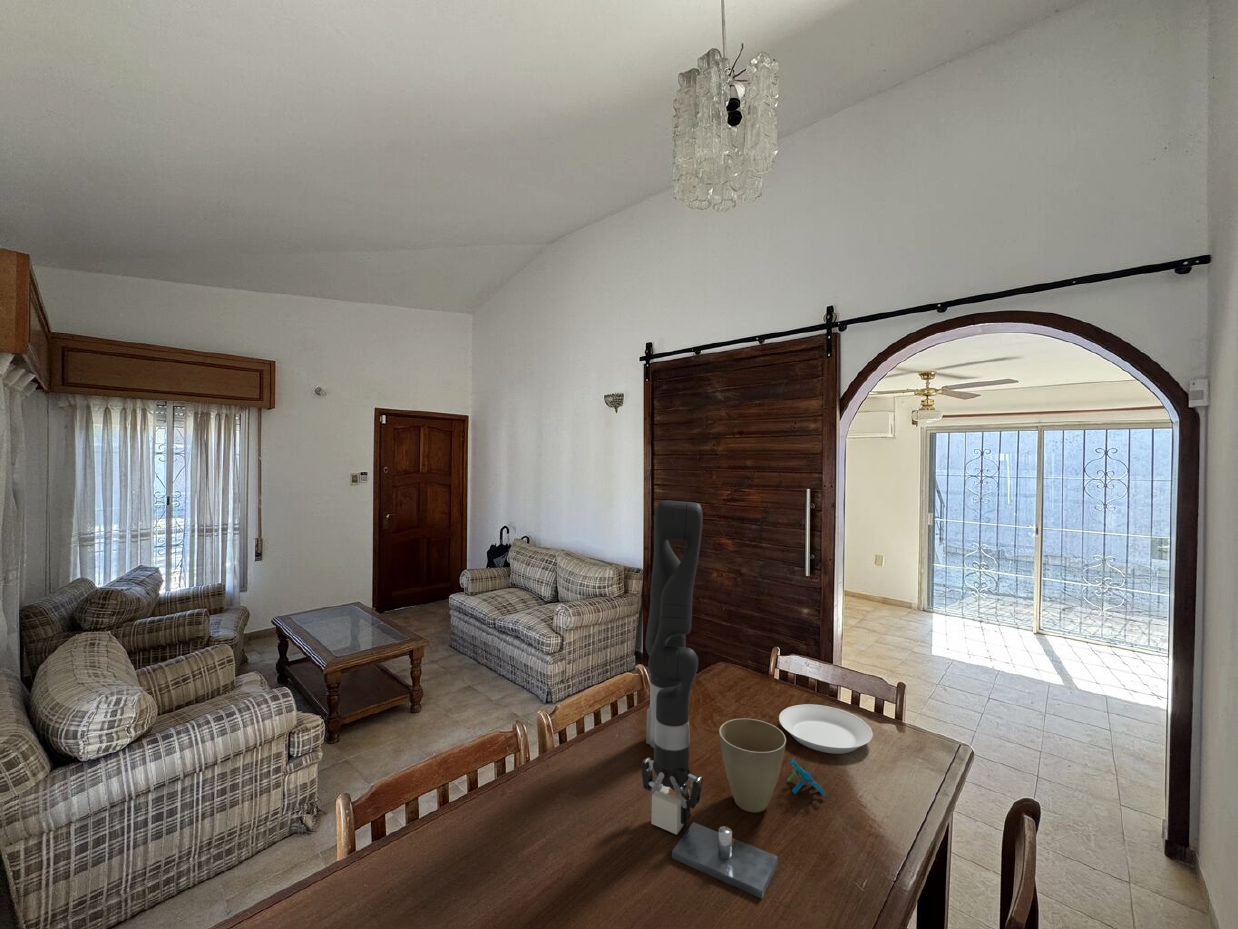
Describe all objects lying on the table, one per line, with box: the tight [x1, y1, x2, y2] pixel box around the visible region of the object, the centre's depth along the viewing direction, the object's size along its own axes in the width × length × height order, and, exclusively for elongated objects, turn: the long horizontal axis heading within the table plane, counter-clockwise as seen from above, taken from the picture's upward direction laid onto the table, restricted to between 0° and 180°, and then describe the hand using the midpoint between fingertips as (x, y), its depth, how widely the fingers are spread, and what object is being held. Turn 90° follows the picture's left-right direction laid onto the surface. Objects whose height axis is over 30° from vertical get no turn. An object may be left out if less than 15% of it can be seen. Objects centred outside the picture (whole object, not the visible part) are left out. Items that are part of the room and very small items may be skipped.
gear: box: [786, 757, 827, 796], centre depth 129 cm, size 11×6×10 cm
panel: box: [671, 821, 779, 900], centre depth 106 cm, size 18×10×6 cm, turn 58°
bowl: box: [778, 703, 873, 754], centre depth 155 cm, size 25×25×4 cm
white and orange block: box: [650, 786, 685, 836], centre depth 116 cm, size 6×6×7 cm
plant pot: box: [718, 717, 787, 813], centre depth 124 cm, size 15×15×16 cm
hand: (670, 816), depth 116 cm, fingers closed on white and orange block, 6 cm apart
